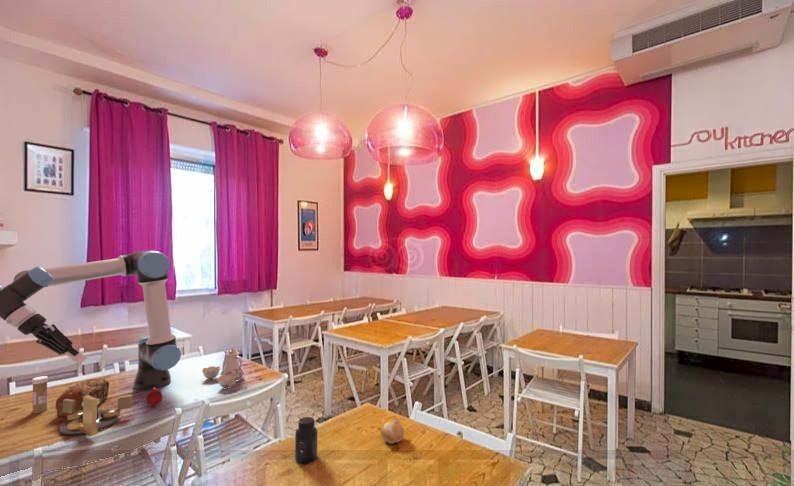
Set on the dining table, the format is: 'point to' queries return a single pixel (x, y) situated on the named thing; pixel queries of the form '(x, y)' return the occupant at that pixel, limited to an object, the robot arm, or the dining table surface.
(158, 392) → the onion
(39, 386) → the sprinkles bottle
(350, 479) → the dining table surface
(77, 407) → the bread
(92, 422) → the tan upright wooden panel
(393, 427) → the onion
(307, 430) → the supplement bottle
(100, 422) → the tribrach plate
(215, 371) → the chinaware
